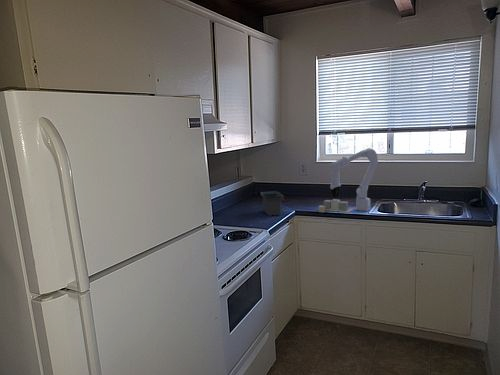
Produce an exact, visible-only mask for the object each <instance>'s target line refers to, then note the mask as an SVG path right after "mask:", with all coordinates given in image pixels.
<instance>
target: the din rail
mask: <svg viewBox="0 0 500 375" xmlns="http://www.w3.org/2000/svg"><path fill="white" fill-rule="evenodd" d="M331 200H332V199H326V200H323V205H322V206H325V211H328V210H329V211H330V212H337V211H339V212H338V213H347V212H349V213H351V212H352V211H353V210H354V209H352V208H349V201H341V200H340V202H339V209H331ZM329 211H328V212H329Z"/></svg>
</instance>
